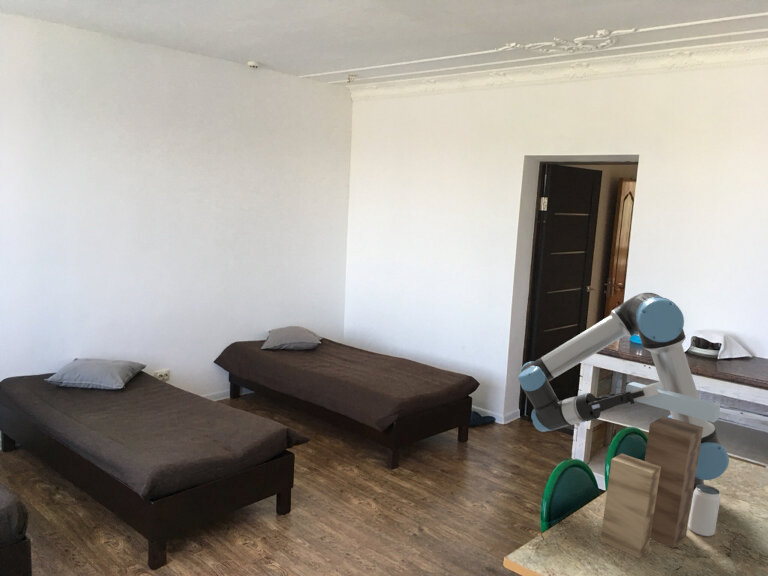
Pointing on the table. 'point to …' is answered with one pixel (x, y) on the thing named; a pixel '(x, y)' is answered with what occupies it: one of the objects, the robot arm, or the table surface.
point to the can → (704, 510)
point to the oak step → (630, 504)
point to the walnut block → (673, 476)
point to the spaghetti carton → (680, 403)
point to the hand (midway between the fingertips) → (659, 387)
